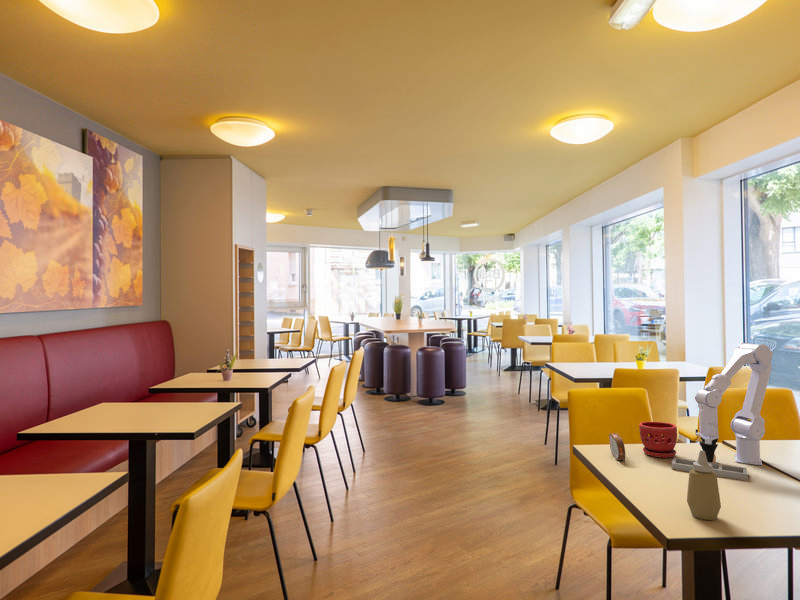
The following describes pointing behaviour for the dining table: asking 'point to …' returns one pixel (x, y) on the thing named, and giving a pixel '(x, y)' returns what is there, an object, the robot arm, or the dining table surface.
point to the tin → (617, 446)
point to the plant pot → (658, 438)
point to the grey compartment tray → (717, 469)
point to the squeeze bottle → (703, 490)
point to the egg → (714, 459)
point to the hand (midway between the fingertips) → (709, 459)
